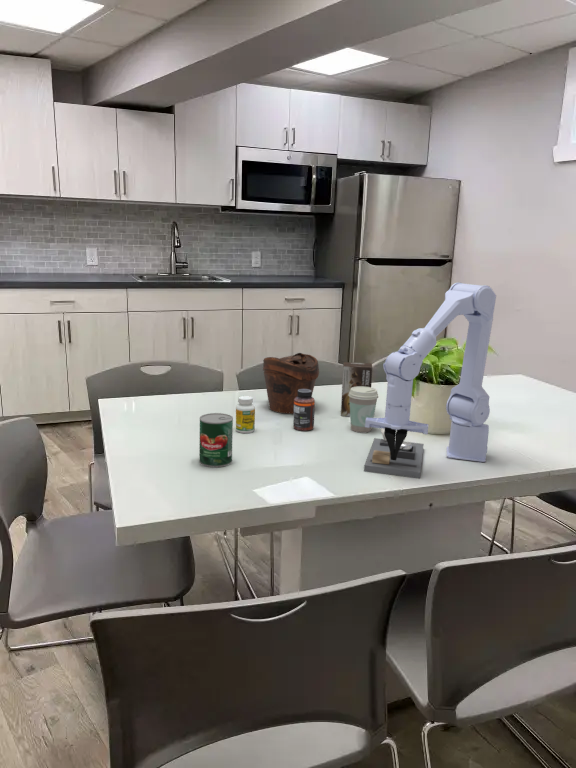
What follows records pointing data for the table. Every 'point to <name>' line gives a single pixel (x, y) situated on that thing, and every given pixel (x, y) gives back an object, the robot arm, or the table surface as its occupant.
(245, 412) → the supplement bottle
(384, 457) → the block
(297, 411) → the supplement bottle
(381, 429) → the off-white toggle lever
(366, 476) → the table surface
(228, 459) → the canned tomato
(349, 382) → the coffee box
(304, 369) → the brown leather bucket
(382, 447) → the control panel
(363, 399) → the coffee cup
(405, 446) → the steel push button
